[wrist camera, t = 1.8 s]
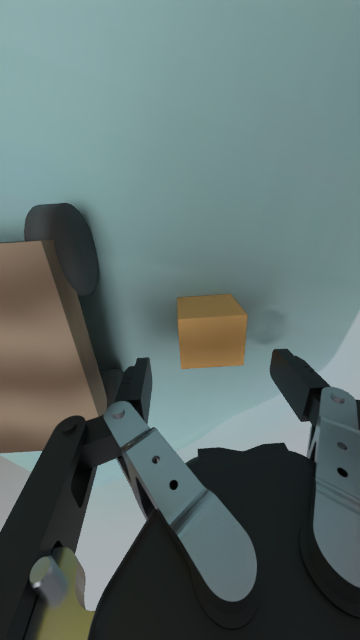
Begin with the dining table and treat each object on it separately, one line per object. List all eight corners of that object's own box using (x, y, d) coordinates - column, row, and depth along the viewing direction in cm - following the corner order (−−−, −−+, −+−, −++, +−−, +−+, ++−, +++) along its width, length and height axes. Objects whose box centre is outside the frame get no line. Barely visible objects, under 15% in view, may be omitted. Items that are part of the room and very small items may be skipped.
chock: (230, 293, 19) (247, 314, 14) (228, 334, 21) (243, 365, 16) (177, 297, 19) (177, 319, 15) (180, 338, 21) (181, 368, 16)
